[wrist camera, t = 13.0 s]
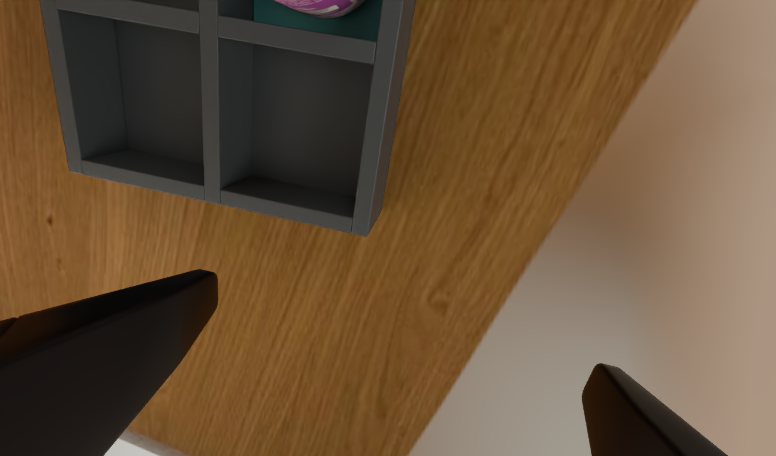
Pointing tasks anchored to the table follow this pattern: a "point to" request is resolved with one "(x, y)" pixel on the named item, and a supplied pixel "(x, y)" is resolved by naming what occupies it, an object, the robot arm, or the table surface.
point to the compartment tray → (233, 101)
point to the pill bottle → (323, 7)
